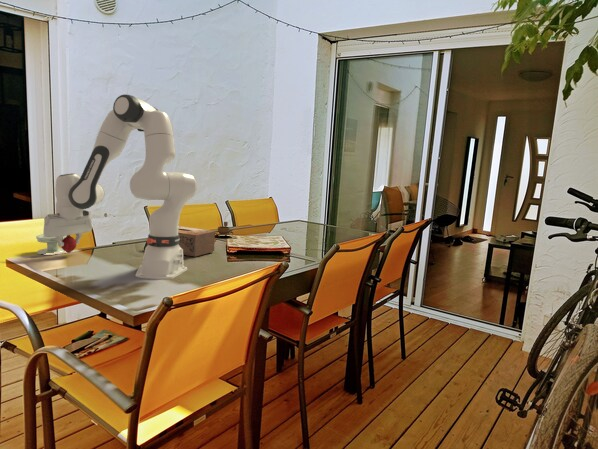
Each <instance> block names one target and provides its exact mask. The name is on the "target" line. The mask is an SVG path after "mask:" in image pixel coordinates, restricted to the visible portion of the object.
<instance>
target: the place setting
mask: <svg viewBox="0 0 598 449" xmlns="http://www.w3.org/2000/svg"><path fill="white" fill-rule="evenodd" d="M228 223H229V222H228V221H223V225H222V226H221V225H220V226H217V230H214V231H215V232H219V233H220V234H217V233H215V234H216V235H229V234H228V233H229V232H231V233H232V234H233V235H235V233H234V232H233V231H231V229H230V226H228ZM216 235H215V236H216Z"/></svg>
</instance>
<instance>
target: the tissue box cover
mask: <svg viewBox="0 0 598 449" xmlns="http://www.w3.org/2000/svg"><path fill="white" fill-rule="evenodd" d="M215 231H216V230H210V229H209V230H208V229H202V228H195V227H190V226H189V227H187V226H183V225H179V228H178V234H179V238H180V240H179V246H180V247H181V248H182V249H183V256H184V255H185V256H189V257H198V256H203V255H206V254H209V253H213V251H214V252H215V237H216V235H215Z"/></svg>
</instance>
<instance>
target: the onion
mask: <svg viewBox="0 0 598 449" xmlns="http://www.w3.org/2000/svg"><path fill="white" fill-rule="evenodd" d="M75 239H76V238H74V237H72V236H71V235H67V237H65V238H64V239H63V240H62V242H64V246H63V247H61V248H62V249H63V250H64V251H66V252H67V253H68V254H70V253H71V252H73V251H74V250H75V249H76V248H77V244H76V241H75ZM67 253H66V254H67Z"/></svg>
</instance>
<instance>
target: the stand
mask: <svg viewBox="0 0 598 449" xmlns="http://www.w3.org/2000/svg"><path fill="white" fill-rule="evenodd" d="M65 237H67V235H65V236H62V238H61V241H62V240H63V239H64V238H65ZM35 239H36V240H37V242H38V243H42V244H44V243H45V244H46V247H45V248H43V249H39V250H37V255H39V254H46V253H54V252H63V251H64V250H63V249H62V247H59V246H58V242H57V241H56V239H55V237H51V238H49V237H45V236H44V234H41V233H40V234H39V235H36V238H35Z"/></svg>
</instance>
